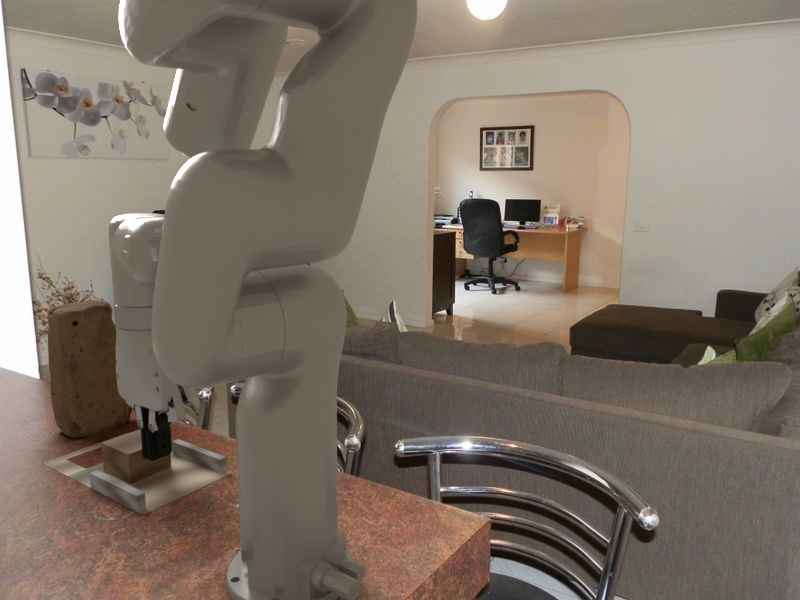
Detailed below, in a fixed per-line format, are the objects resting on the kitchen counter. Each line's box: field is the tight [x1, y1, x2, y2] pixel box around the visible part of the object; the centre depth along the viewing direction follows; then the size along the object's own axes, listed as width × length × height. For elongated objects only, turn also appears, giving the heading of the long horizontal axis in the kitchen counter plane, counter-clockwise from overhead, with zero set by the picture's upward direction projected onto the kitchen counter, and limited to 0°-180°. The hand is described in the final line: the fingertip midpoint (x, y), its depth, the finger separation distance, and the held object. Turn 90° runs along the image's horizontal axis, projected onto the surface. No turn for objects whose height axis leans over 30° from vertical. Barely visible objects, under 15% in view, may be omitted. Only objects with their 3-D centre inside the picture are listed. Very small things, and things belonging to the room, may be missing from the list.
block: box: [46, 299, 134, 438], centre depth 102 cm, size 11×8×20 cm
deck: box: [41, 432, 232, 516], centre depth 88 cm, size 23×13×3 cm, turn 55°
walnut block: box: [101, 428, 171, 484], centre depth 88 cm, size 6×6×4 cm
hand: (157, 455), depth 85 cm, fingers closed
